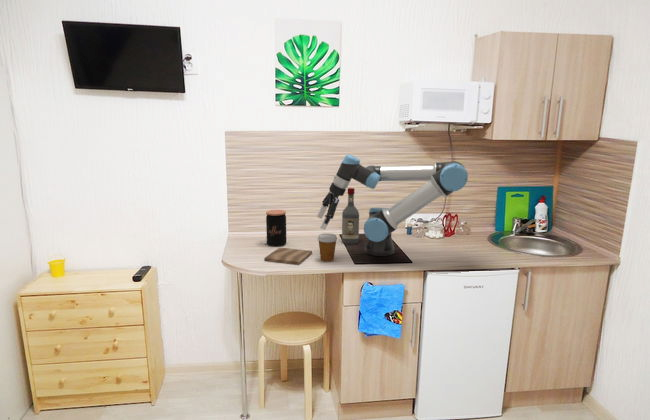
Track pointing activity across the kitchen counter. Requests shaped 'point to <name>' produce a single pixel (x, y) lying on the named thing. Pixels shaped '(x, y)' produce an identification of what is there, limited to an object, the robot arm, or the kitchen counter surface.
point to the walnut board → (288, 256)
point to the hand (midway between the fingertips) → (320, 223)
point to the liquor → (350, 221)
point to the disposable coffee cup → (327, 246)
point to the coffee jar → (276, 227)
